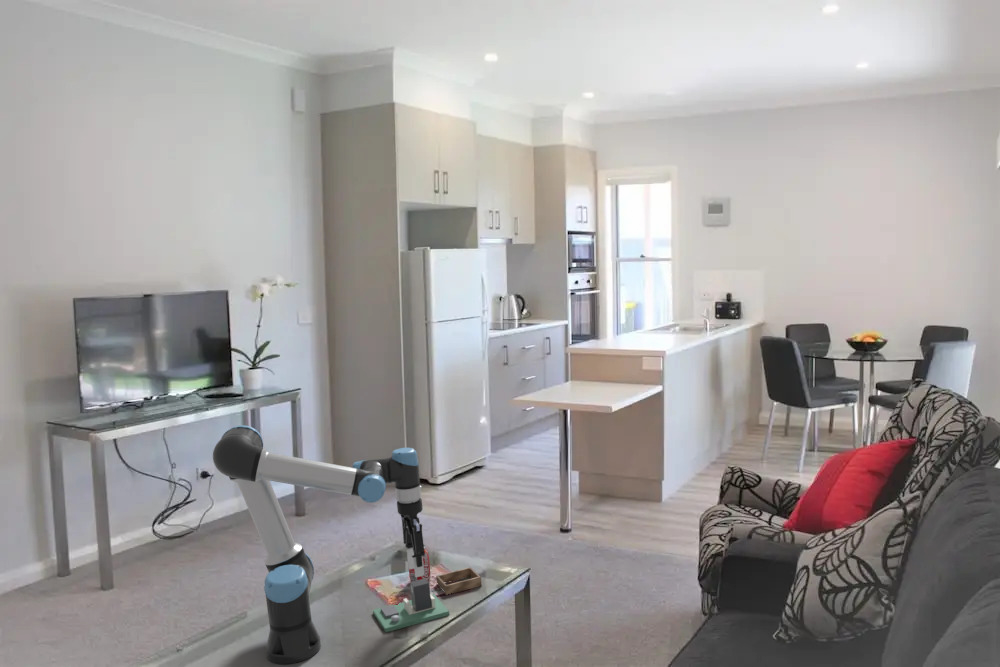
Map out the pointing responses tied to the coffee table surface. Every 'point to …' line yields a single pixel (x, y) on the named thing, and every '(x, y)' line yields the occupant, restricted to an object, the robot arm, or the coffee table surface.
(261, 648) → the coffee table surface
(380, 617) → the board
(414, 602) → the plug
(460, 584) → the wooden frame
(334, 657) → the coffee table surface
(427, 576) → the soda can
